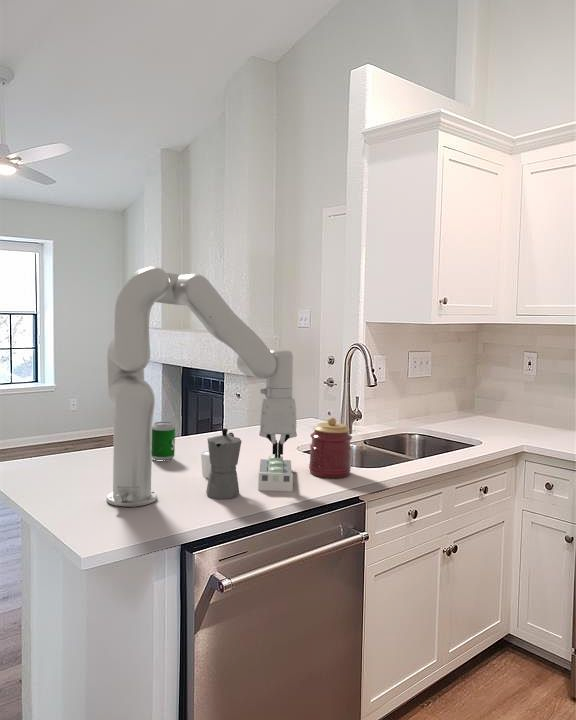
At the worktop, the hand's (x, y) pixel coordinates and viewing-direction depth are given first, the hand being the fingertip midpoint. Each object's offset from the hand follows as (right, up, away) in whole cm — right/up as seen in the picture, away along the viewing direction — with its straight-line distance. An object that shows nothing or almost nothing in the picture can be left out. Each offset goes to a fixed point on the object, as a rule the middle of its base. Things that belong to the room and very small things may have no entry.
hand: (277, 456), depth 174 cm
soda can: (-38, -5, +26) cm, 47 cm away
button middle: (-1, -6, +7) cm, 9 cm away
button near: (-1, -6, 0) cm, 6 cm away
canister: (+16, -8, +16) cm, 24 cm away
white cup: (-20, -7, +9) cm, 23 cm away
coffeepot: (-15, -9, -8) cm, 19 cm away
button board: (-1, -8, +7) cm, 11 cm away
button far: (-1, -5, +14) cm, 15 cm away
